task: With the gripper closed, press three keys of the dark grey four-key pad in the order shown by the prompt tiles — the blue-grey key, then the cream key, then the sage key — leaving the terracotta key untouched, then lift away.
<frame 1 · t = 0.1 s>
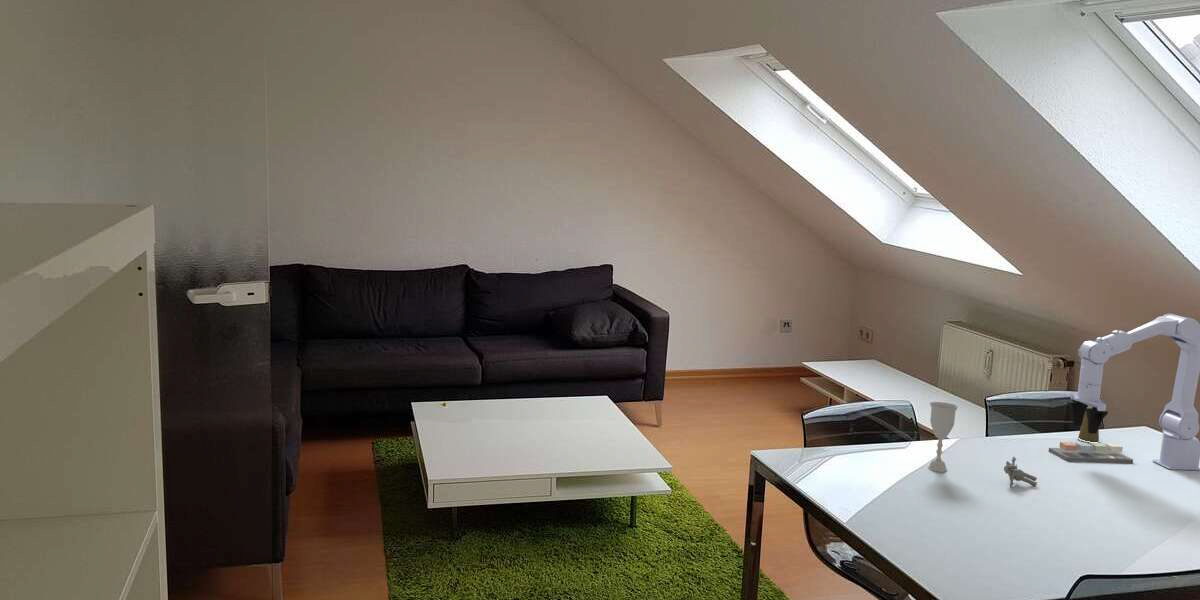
hand: (1084, 429, 277), 10 cm above the table, tool pointing down, fingers open, 7 cm apart
key blue: (1083, 446, 285), point 3 cm above the table, slide at 0.0 cm
key cream: (1113, 447, 285), point 3 cm above the table, slide at 0.0 cm
key terracotta: (1068, 446, 285), point 3 cm above the table, slide at 0.0 cm
keypad base: (1090, 456, 285), on the table
toy figurine: (1016, 484, 256), on the table
key sage: (1098, 447, 285), point 3 cm above the table, slide at 0.0 cm
cork: (1088, 441, 304), on the table
chalice: (937, 469, 266), on the table
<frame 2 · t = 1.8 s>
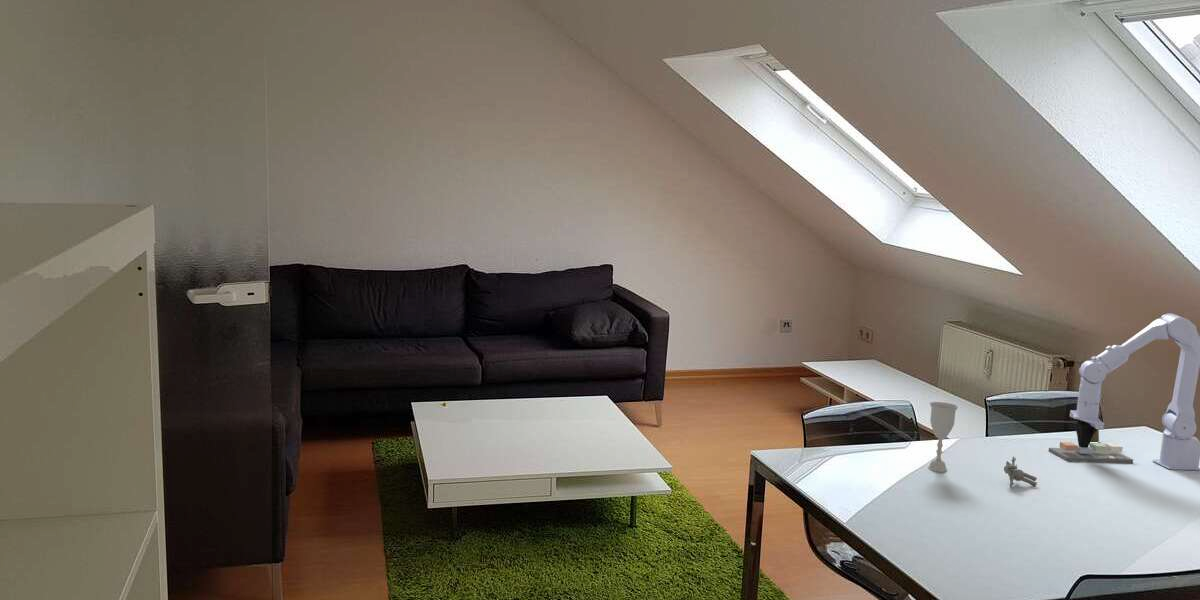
hand: (1083, 446, 285), 3 cm above the table, tool pointing down, fingers closed, pressing on key blue
key blue: (1083, 449, 285), point 2 cm above the table, slide at 0.8 cm, touching gripper
everything else where it was.
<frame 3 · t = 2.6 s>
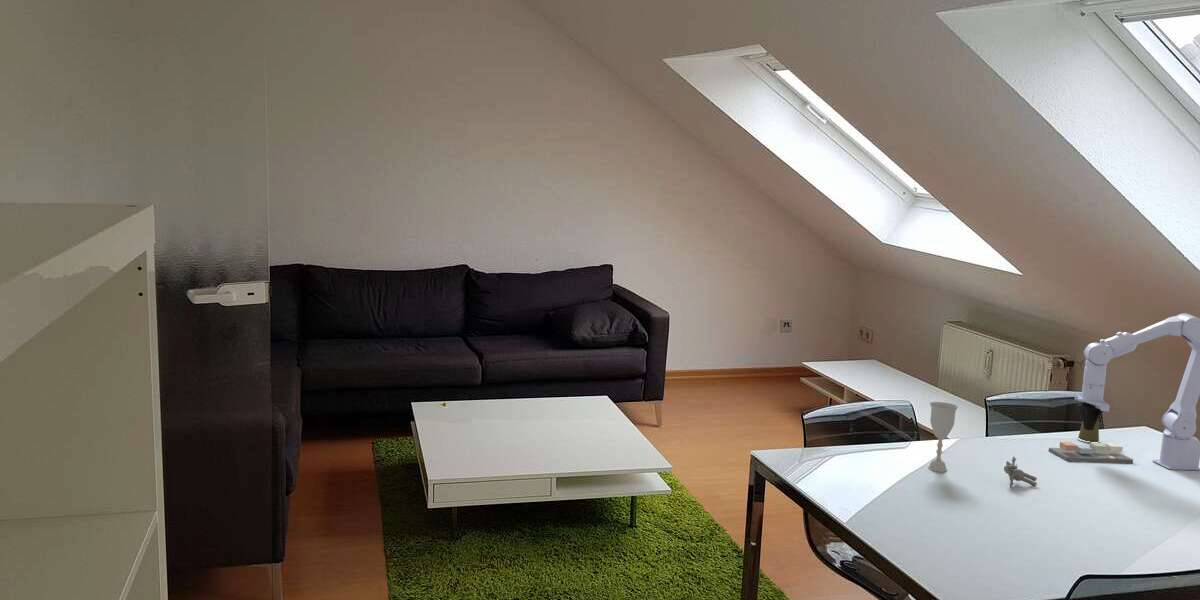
hand: (1088, 429, 284), 8 cm above the table, tool pointing down, fingers closed
key blue: (1083, 449, 285), point 2 cm above the table, slide at 0.8 cm
everything else where it was.
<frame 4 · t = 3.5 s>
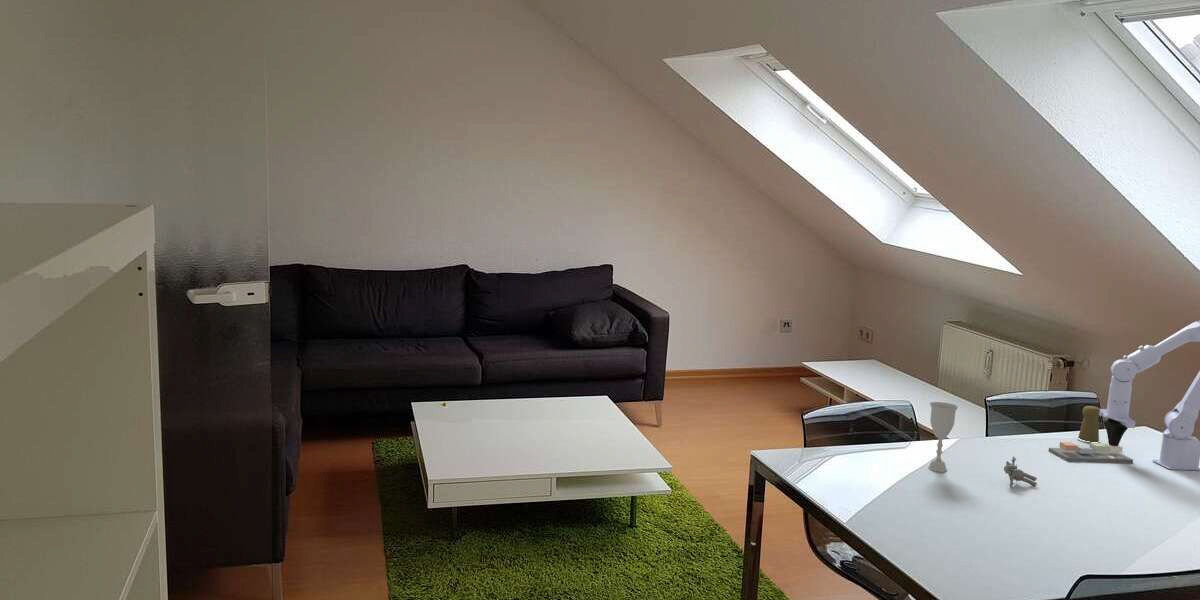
hand: (1113, 445, 285), 4 cm above the table, tool pointing down, fingers closed, pressing on key cream
key cream: (1113, 447, 285), point 3 cm above the table, slide at 0.1 cm, touching gripper
everything else where it was.
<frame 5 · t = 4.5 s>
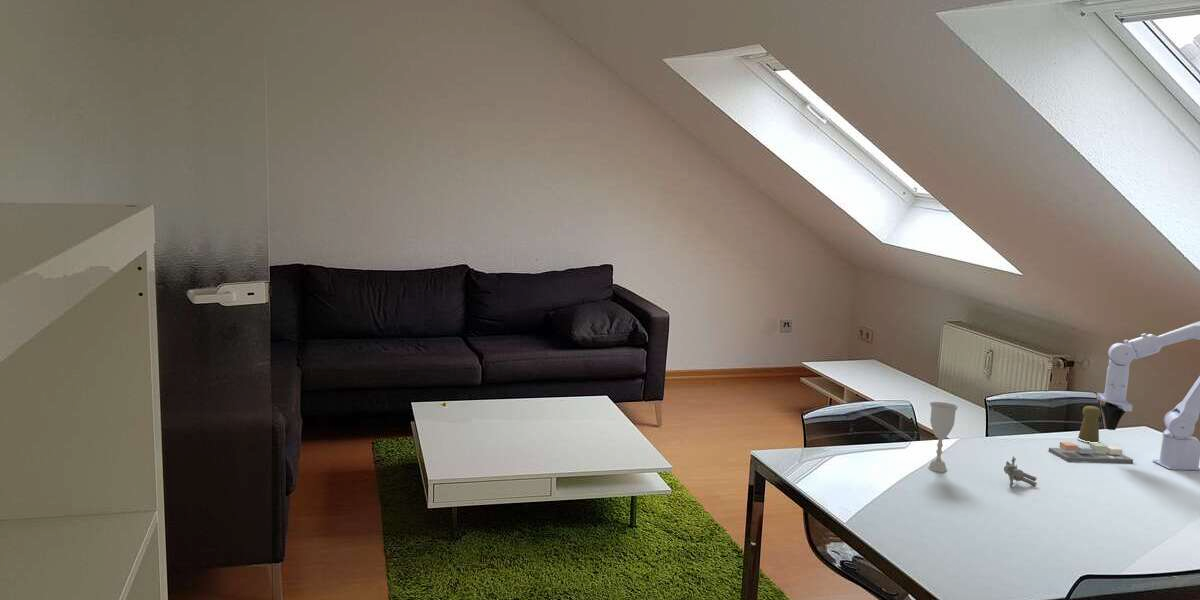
hand: (1110, 429, 285), 8 cm above the table, tool pointing down, fingers closed
key cream: (1113, 450, 286), point 2 cm above the table, slide at 0.8 cm
everything else where it was.
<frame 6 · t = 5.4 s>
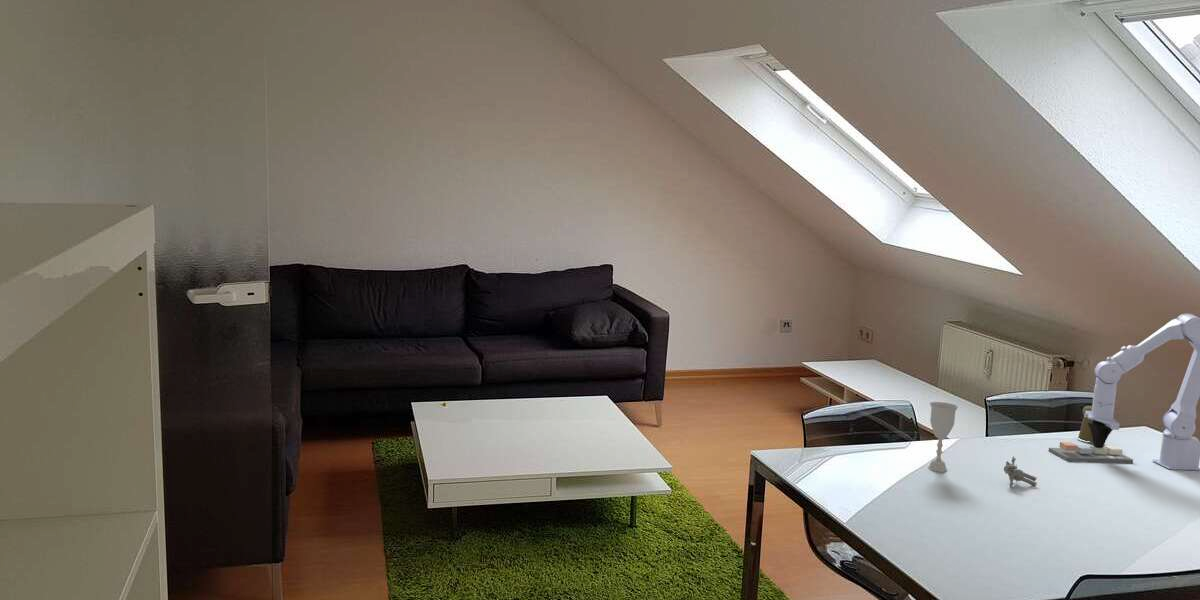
hand: (1098, 447, 285), 3 cm above the table, tool pointing down, fingers closed, pressing on key sage
key sage: (1098, 449, 285), point 2 cm above the table, slide at 0.8 cm, touching gripper
everything else where it was.
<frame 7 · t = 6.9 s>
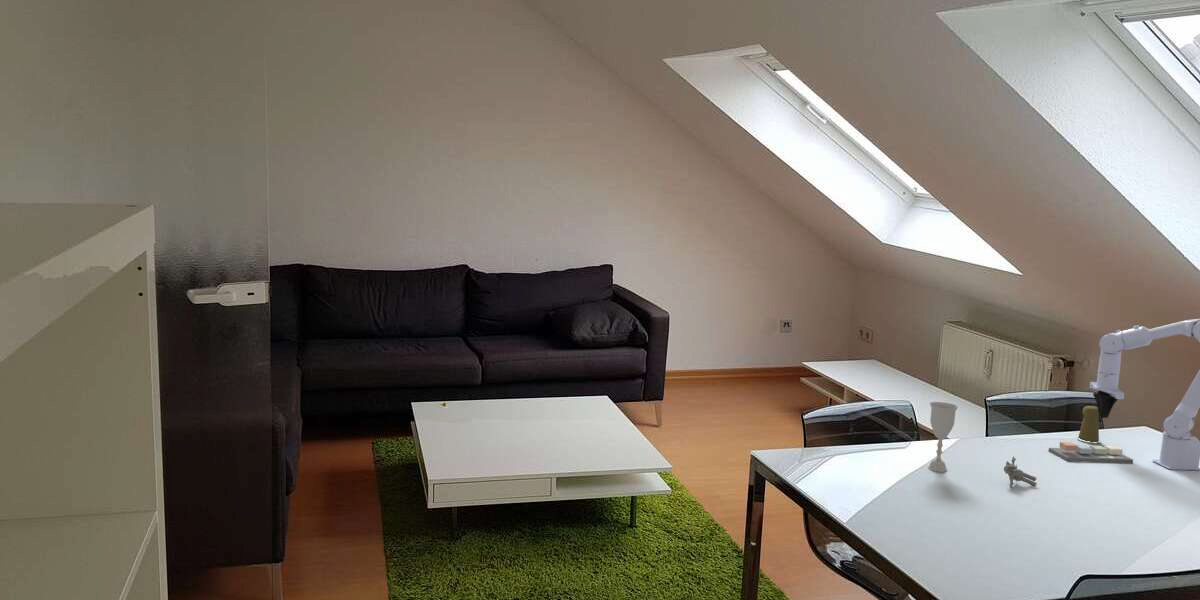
hand: (1103, 417, 291), 10 cm above the table, tool pointing down, fingers closed
key sage: (1098, 449, 285), point 2 cm above the table, slide at 0.8 cm
everything else where it was.
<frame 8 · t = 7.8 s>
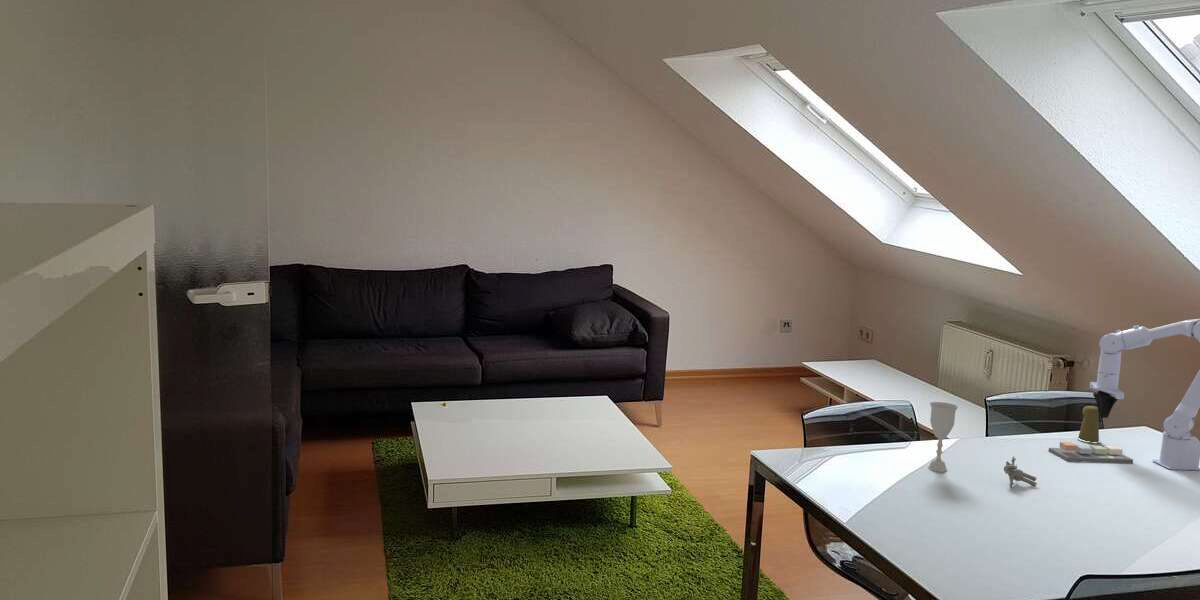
hand: (1103, 417, 291), 10 cm above the table, tool pointing down, fingers closed
nothing on the table moved.
at the end: key blue slide at 0.8 cm; key sage slide at 0.8 cm; key terracotta slide at 0.0 cm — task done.
